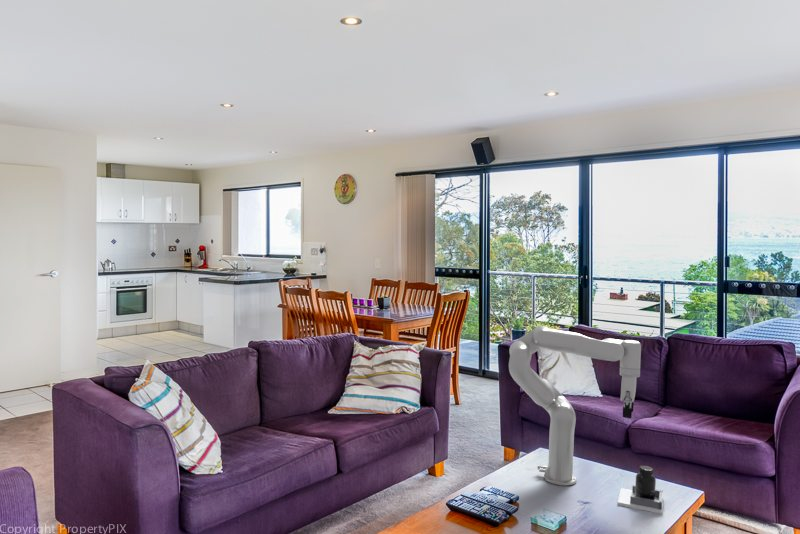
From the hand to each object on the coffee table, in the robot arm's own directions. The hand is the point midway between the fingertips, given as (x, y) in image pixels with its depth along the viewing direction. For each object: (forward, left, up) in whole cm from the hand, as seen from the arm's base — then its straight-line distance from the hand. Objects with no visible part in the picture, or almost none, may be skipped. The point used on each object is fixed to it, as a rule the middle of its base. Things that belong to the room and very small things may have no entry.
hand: (628, 414), depth 230 cm
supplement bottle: (+8, -14, -28) cm, 32 cm away
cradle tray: (+6, -14, -28) cm, 32 cm away
